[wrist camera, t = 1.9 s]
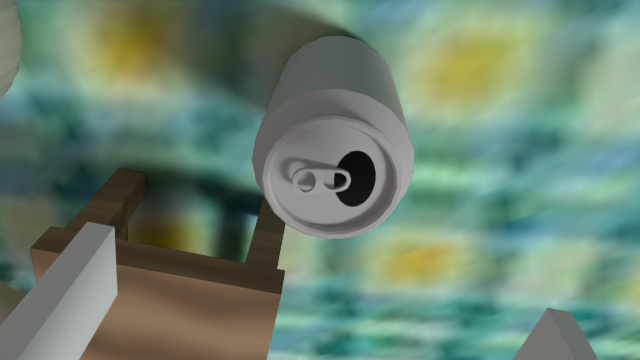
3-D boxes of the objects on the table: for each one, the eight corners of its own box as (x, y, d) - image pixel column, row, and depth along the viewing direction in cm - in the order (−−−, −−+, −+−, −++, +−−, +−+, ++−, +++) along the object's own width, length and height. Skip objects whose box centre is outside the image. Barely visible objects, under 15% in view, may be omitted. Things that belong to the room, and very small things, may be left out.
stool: (111, 161, 33) (30, 248, 24) (297, 198, 34) (281, 294, 25) (117, 293, 40) (55, 397, 32) (269, 321, 41) (250, 429, 32)
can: (384, 145, 31) (404, 259, 21) (278, 137, 31) (246, 246, 21) (402, 36, 27) (436, 111, 17) (280, 27, 27) (242, 95, 17)
